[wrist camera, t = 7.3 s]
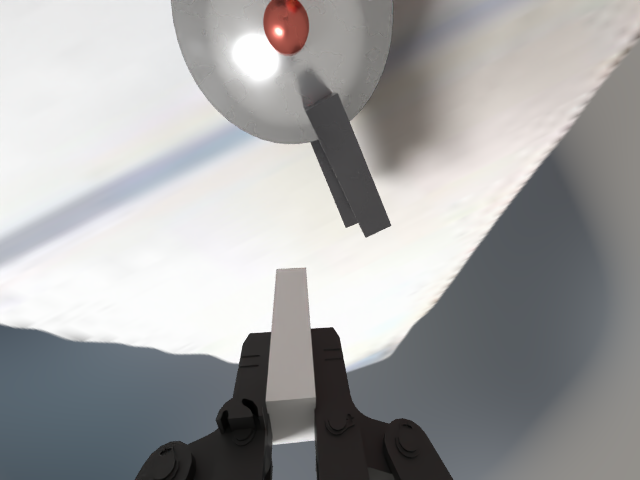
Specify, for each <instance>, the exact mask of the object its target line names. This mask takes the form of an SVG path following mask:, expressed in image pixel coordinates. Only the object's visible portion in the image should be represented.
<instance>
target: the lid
mask: <svg viewBox="0 0 640 480" xmlns="http://www.w3.org/2000/svg"><path fill="white" fill-rule="evenodd" d="M171 6H172V14H173V22H174V26H175V31H176V36H177V40H178V43H179V46H180V49H181V52H182V55H183V57H184V60H185V62H186V64H187V66H188V69H189V71H190V73H191V75H192V76H193V78H194V80H195V82H196V83H197V85H198V87H199V88H200V90H201V91H202V92H203V94H204V95H205V97H206V98H207V99H208V101H209V102H210V103H211V104H212V105H213V106H214V107H215V108H216V110H217V111H218V112H220V113H221V114H222V115H223V116H224V117H225V118H226V119H227V120H228V121H230V122H231V123H233V124H234V125H235V126H237V127H238V128H240V129H241V130H243V131H245V132H247V133H249V134H251V135H253V136H255V137H258V138H260V139H263V140H267V141H271V142H275V143H283V144H300V143H307V142H312V141H315V140H318V139H319V142H320V144H321V146H322V148H323V150H324V152H325V154H326V156H327V158H328V160H329V163H330V165H331V167H332V169H333V171H334V173H335V175H336V177H337V179H338V181H339V184H340V186H341V188H342V190H343V192H344V194H345V196H346V198H347V200H348V202H349V204H350V207H351V209H352V211H353V213H354V215H355V217H356V219H357V221H358V223H359V225H360V227H361V229H362V231H363V233H364V235H365V238H366V237H368V236H370V235H373V234H375V233H377V232H379V231H381V230H383V229H385V228H387V227H390V226H391V224H390V221H389V219H388V216H387V214H386V211H385V209H384V206H383V204H382V201H381V199H380V196H379V194H378V191H377V189H376V186H375V184H374V181H373V179H372V176H371V174H370V171H369V169H368V166H367V164H366V161H365V159H364V157H363V154H362V152H361V149H360V147H359V144H358V142H357V139H356V137H355V134H354V132H353V129H352V127H351V124H350V122H349V121H351V120H352V119H353V118H354V117H355V116H356V115H357V114H358V112H359V111H360V110H361V109H362V108H363V107H364V105H365V104H366V103H367V101H368V100H369V98H370V97H371V95H372V93H373V92H374V90H375V88H376V86H377V84H378V82H379V80H380V77H381V75H382V73H383V70H384V67H385V64H386V61H387V57H388V53H389V48H390V43H391V36H392V26H393V2H392V0H171Z"/></svg>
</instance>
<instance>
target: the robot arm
mask: <svg viewBox="0 0 640 480" xmlns="http://www.w3.org/2000/svg"><path fill="white" fill-rule="evenodd" d="M216 422H217V425H218V429H217V430H215V431H214V432H213V433H211V434H209V435H208V436H205V437H203V438H201V439H199V440H197V441H194V442H192V443H190V444H188V445H187V444H185V443H183V442H181V441H173V442H169V443H167V444H165V445H162V446H161V447H160V448H158V449H157V450H156V451H154V452H153V453H152V454H151V455H150V457H149V458H148V459H147V461H146V462H145V463H144V465H143V466H142V468H141V470H140V471H139V473H138V475H137V477H136V479H135V480H272V468H273V466H272V442H273V445H274V444H284V443H293V442H303V441H313V440H315V449H316V472H317V480H453V478H452V477H451V475H450V473H449V472H448V470H447V468H446V467H445V465H444V463H443V462H442V460H441V458H440V457H439V455H438V453H437V452H436V450H435V448H434V447H433V445H432V443H431V442H430V440H429V438H428V437H427V435H426V434H425V432H424V431H423V430H422V429H421V428H420V427H419V426H418V425H417V424H415V423H414V422H413V421H410V420H407V419H403V418H402V419H395V420H394V421H392V422H391V423H390V424H388V423H385V422H381V421H378V420H374V419H371V418H368V417H366V416H365V415H363V414H362V413H360V411H358V409H357V408H356V407H355V405H354V403H353V402H352V399H351V396H350V390H349V385H348V380H347V374H346V369H345V364H344V360H343V353H342V348H341V343H340V337H339V336H338V334H337V333H336V331H335V330H334V328H333V327H330V328H315V329H310V315H309V302H308V289H307V276H306V268H291V269H277V270H276V282H275V294H274V306H273V318H272V330H271V332H264V333H250V334H249V335H248V337H247V339H246V340H245V342H244V343H243V346H242V351H241V358H240V362H239V369H238V373H237V378H236V383H235V388H234V394H233V398H232V399H231V400H229V401H228V402H226V403H225V404H224V405H223V407H222V408H221V409H220V411H219V413H218V415H217V418H216Z"/></svg>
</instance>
